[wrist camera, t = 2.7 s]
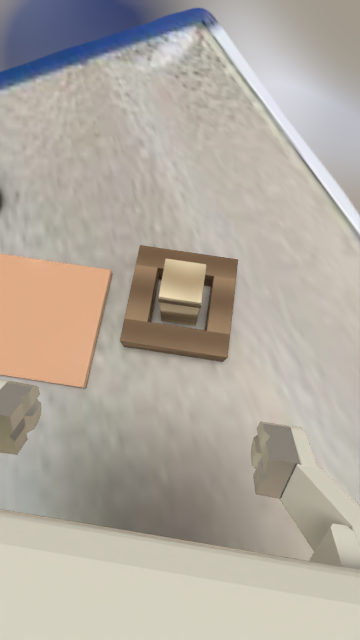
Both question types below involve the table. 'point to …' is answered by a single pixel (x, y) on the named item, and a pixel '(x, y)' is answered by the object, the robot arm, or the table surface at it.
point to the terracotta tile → (50, 319)
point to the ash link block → (181, 291)
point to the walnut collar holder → (175, 338)
